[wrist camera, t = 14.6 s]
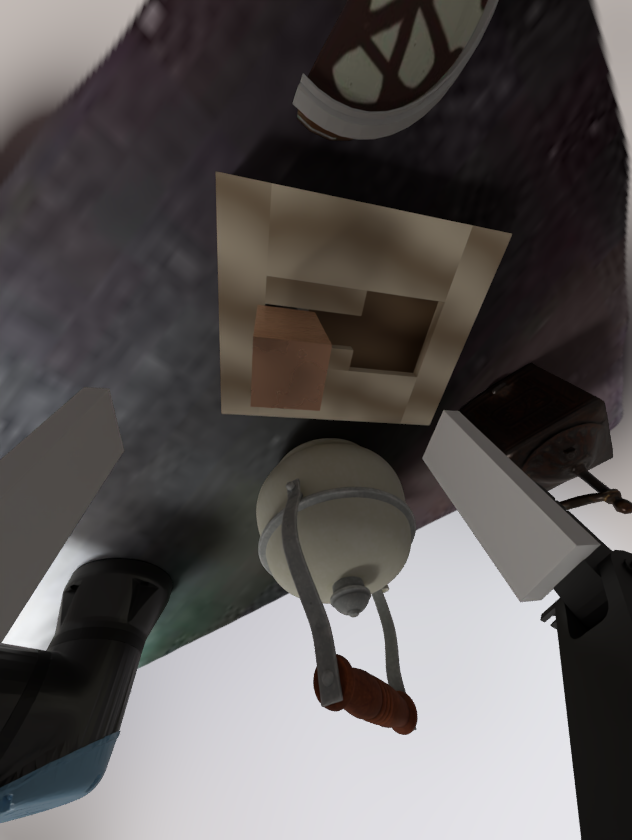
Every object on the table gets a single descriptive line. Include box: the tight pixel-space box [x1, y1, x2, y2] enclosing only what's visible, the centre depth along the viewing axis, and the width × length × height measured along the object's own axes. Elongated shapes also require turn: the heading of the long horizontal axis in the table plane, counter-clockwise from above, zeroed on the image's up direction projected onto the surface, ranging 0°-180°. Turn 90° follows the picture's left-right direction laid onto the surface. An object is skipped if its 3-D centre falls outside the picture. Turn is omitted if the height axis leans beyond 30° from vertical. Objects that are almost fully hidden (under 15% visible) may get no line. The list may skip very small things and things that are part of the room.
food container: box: [292, 0, 499, 141], centre depth 17 cm, size 12×6×10 cm, turn 142°
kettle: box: [256, 438, 417, 735], centre depth 32 cm, size 25×18×25 cm
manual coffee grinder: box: [459, 363, 632, 514], centre depth 32 cm, size 16×11×18 cm
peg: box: [250, 304, 332, 411], centre depth 21 cm, size 5×5×14 cm
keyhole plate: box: [216, 172, 512, 425], centre depth 27 cm, size 18×22×5 cm
